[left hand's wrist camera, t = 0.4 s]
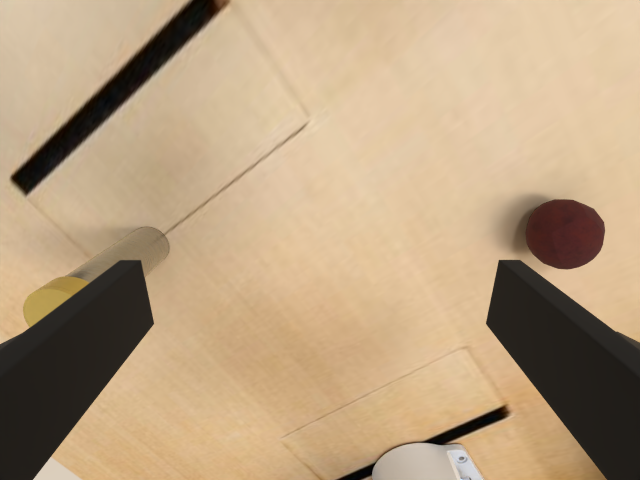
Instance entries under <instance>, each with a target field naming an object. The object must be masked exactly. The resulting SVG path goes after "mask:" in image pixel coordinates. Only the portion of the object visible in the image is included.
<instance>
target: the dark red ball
mask: <svg viewBox="0 0 640 480" xmlns="http://www.w3.org/2000/svg"><path fill="white" fill-rule="evenodd" d="M604 234H605V226H604V222H603V220H602V219H601V218H600V216H599V215H598V214H597V212H596V211H595V210H594V209H593V208H591V207H589V206H587V205H584V204H582V203H579V202H577V201H574V200H552V201H549V202H546V203H544V204H542V205H540V206H539V207H538V208H537V209H536V210H534V212H533V214H532V215H531V217H530V218H529V222H528V225H527V229H526V242H527V245H528V247H529V249H530V250H531V252H532V253H533V255H535V256H536V257H537V258H538V259H539V260H540V261H541V262H543V263H544V264H547V265H549V266H552V267H555V268H558V269H573V268H577V267H580V266H582V265H585V264H587V263H588V262H590V261H591V260H593V259H594V258H595V257H596V256H597V254H598V253H599V252H600V250H601V248H602V245H603V240H604Z"/></svg>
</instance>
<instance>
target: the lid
mask: <svg viewBox="0 0 640 480" xmlns="http://www.w3.org/2000/svg"><path fill="white" fill-rule="evenodd" d="M87 284H89V282H87V281H85V280H83V279H80V278H77V277H69V276H66V277H59V278H56V279H54V280H52V281H50V282H49V283H47V284H46V285H44V286H43V287H41V288H39V289H38V290H36V291H35V292H33V293H32V294H30V295H29V296H28V297H27V299H26V300H25V303H24V306H23V313H24V317H25V320H26V322H27V324H28V325H29V327H31V326H33V325H34V324H35V323H37V322H38V321H39V320H41V319H42V318H43V317H45V316H46V315H47V314H49V313H50V312H51V311H53V310H54V309H55V308H57V307H58V306H59V305H61V304H62V303H63V302H65V301H66V300H67V299H69V298H70V297H71V296H73V295H74V294H75V293H77V292H78V291H79V290H81V289H82V288H83V287H85V286H86V285H87Z"/></svg>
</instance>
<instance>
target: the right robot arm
mask: <svg viewBox="0 0 640 480" xmlns="http://www.w3.org/2000/svg"><path fill="white" fill-rule="evenodd" d="M372 480H485V479H484V477H483V476H482V474H481V473H480V471H479V469H478V468H477V466H476V465H475V463H474V462H473V460H472V458H471V457H470V455H469V454H468V452H467V450H466V449H465V447H464V446H463V445H461V444H450V445H436V444H430V443H412V444H406V445H403V446H399V447H397V448H394V449H392V450H391V451H389V452H387V453H386V454H384V455H383V456H382V457H381V458H380V459H379V460H378V461H377V463H376V464H375V466H374V468H373V472H372Z"/></svg>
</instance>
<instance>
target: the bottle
mask: <svg viewBox="0 0 640 480" xmlns="http://www.w3.org/2000/svg"><path fill="white" fill-rule="evenodd" d="M168 252H169V243H168V240H167V239H166V237H165V236H164V235H163V234H162V233H161V232H160V231H159V230H157V229H154V228H151V227H142V228H139V229H137V230H135V231H134V232H132V233H131V234H129V235H128V236H126V237H124V238H123V239H121V240H120V241H118V242H117V243H115V244H114V245H112V246H111V247H109V248H108V249H106V250H105V251H103V252H101V253H100V254H98V255H97V256H95V257H94V258H92V259H91V260H89V261H88V262H86V263H85V264H83V265H81V266H80V267H78V268H77V269H75V270H74V271H72V272H71V273H69V274H68V275H66V276H69V277H77V278H80V279H83V280H85V281H87V282H89V283H90V282H91V281H93V280H94V279H95V278H97V277H98V276H99V275H101V274H102V273H103V272H105V271H106V270H107V269H109V268H110V267H111V266H113V265H114V264H115V263H117V262H118V261H119V260H141V262H142V267H143V272H144V277H146V276H147V275H148V274H149V273H150V272H151V271H152V270H153V269H154V268H155V267H156V266H157V265H158V264H159V263H160V262H162V261H163V260H164V259H165V258H166V256H167V255H168ZM66 276H65V277H66Z"/></svg>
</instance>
